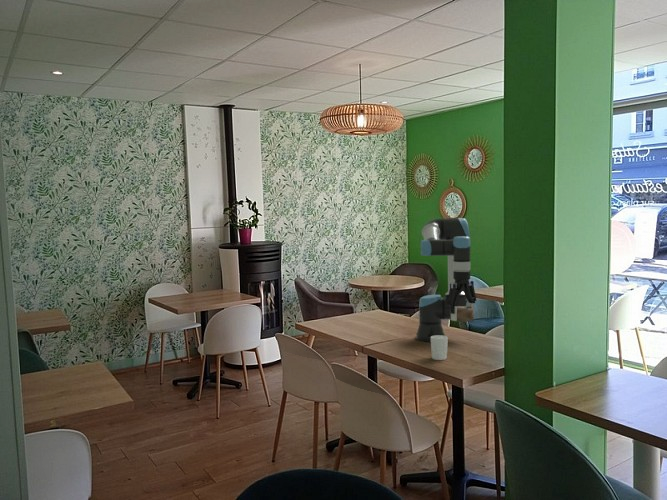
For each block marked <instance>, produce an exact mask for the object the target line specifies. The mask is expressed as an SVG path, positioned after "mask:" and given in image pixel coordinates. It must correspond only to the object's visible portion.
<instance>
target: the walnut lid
mask: <svg viewBox="0 0 667 500" xmlns="http://www.w3.org/2000/svg"><path fill="white" fill-rule="evenodd" d="M456 307H457V321H456V322H459V323H469V322H473V321H474V320H475V310H474V307H473V308H472V307H465V306H456ZM450 321H452V320H451V313H450Z"/></svg>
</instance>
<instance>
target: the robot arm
mask: <svg viewBox="0 0 667 500" xmlns="http://www.w3.org/2000/svg"><path fill="white" fill-rule="evenodd" d="M421 235H422V238H423V239H422V240H421V241H420V255H421V256H424V257H425V256H426V257H430V256H431V257H433V256H434V257H441V256H443V257H444V256H447V292H445V294H444V297H442V295H441V294H429V295H424V296H422V297H420V298H419V302H418V303H419V304H418V307H419V310H418V311H419V314H418V315H419V316H418V317H419V318H418V319H419V320H418V321H419V325H418V328H417V331H416V334H415V335H416V336H415V337H416V340H418V341H421V342H430V343H431V336H435V335H442V336H446V335H445V333H444V329H443V326H442V325H443V324H442V321H443V320H445V321H446V320H450V313H451V320H450V321H452V322H457V307H456V306H465V307H472V308H474V304H476V302H477V295H476V292H475V290H476V289H475V286H474V283H475V281H474V280H470V279H471V271H470V270H471V237H470V228H469V223H468V221H467V219H466V218H463V217H452V218H451V217H450V218H449V217H447V218H434V219H431V220H430V221H429V220H428V221H427V222H426V223H425V224H424V225H423V226H422V229H421Z"/></svg>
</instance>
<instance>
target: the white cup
mask: <svg viewBox="0 0 667 500" xmlns="http://www.w3.org/2000/svg"><path fill="white" fill-rule="evenodd" d="M448 340H449V337H448V336H447V335H445V336H442V335H435V336H431V342H430V349H431V352H430V353H431V359H432V360H436V361H444V360H447V358H448V357H447V356H448V355H447V354H448V343H449V342H448Z"/></svg>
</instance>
